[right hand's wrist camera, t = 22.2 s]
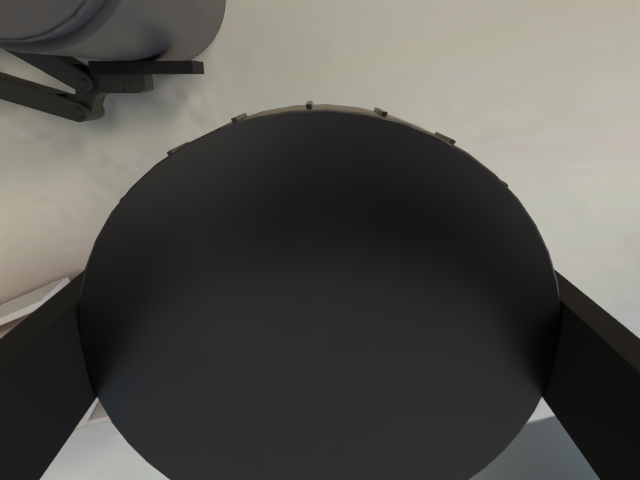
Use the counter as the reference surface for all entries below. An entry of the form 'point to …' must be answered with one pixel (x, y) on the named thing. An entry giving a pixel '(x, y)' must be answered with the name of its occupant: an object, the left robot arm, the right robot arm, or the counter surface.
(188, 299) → the lid
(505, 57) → the counter surface
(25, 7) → the jar
